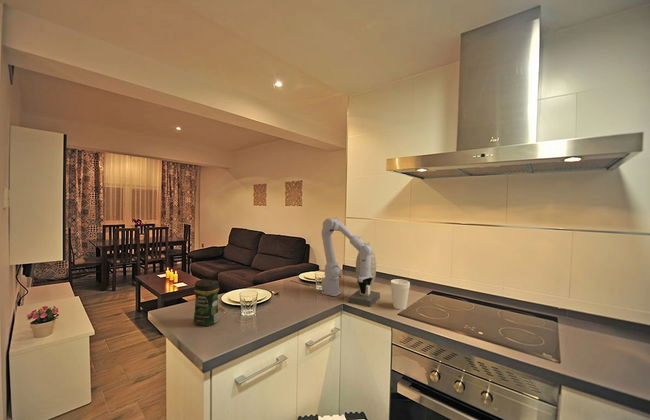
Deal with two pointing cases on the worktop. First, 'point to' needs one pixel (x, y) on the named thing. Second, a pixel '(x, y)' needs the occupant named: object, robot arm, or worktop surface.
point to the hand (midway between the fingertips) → (364, 292)
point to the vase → (373, 266)
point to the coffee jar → (206, 302)
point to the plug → (366, 291)
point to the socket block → (364, 298)
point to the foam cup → (400, 293)
